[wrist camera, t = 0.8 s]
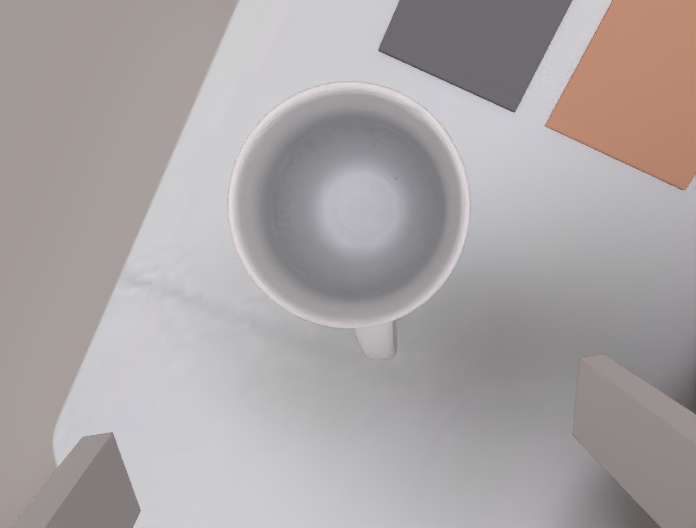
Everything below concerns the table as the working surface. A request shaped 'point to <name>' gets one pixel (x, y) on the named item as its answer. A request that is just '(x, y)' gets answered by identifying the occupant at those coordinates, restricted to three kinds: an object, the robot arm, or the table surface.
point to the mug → (350, 208)
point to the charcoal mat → (476, 42)
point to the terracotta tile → (638, 89)
